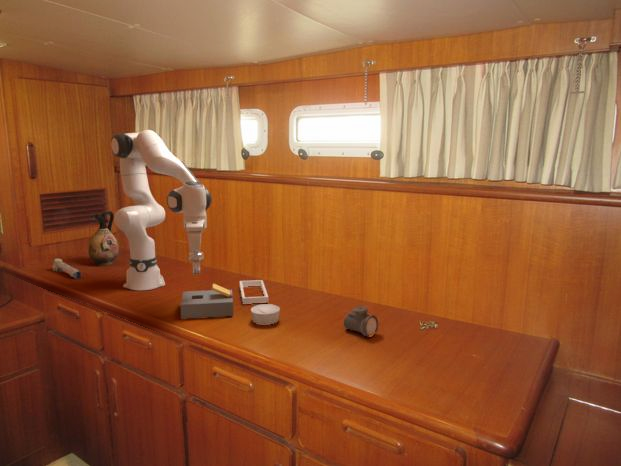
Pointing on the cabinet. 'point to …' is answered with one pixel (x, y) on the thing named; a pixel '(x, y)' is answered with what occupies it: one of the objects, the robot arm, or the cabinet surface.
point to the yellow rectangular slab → (222, 290)
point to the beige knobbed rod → (66, 268)
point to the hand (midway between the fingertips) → (196, 257)
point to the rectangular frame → (253, 299)
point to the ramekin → (265, 314)
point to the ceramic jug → (103, 241)
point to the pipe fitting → (361, 321)
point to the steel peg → (196, 262)
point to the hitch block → (205, 304)
